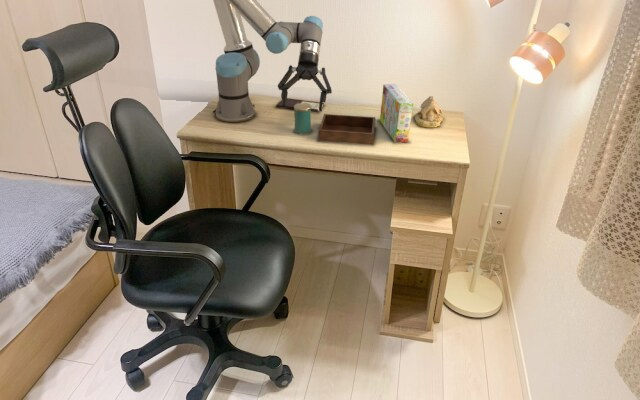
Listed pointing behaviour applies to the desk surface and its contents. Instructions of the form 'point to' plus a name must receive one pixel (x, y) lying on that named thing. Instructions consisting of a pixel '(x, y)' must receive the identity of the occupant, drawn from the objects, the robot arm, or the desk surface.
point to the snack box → (396, 112)
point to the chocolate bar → (292, 102)
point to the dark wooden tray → (347, 129)
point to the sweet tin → (302, 118)
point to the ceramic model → (429, 114)
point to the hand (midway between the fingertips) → (302, 108)
